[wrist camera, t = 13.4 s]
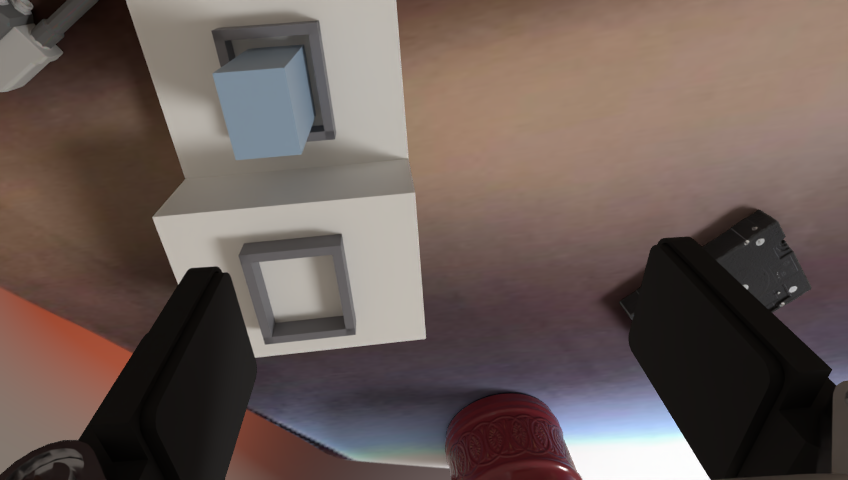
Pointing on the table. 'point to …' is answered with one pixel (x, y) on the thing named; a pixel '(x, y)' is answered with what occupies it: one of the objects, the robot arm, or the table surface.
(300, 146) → the plug
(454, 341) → the table surface
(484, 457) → the canister
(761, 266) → the disk drive
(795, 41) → the table surface
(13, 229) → the table surface
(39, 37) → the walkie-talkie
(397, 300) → the dock
